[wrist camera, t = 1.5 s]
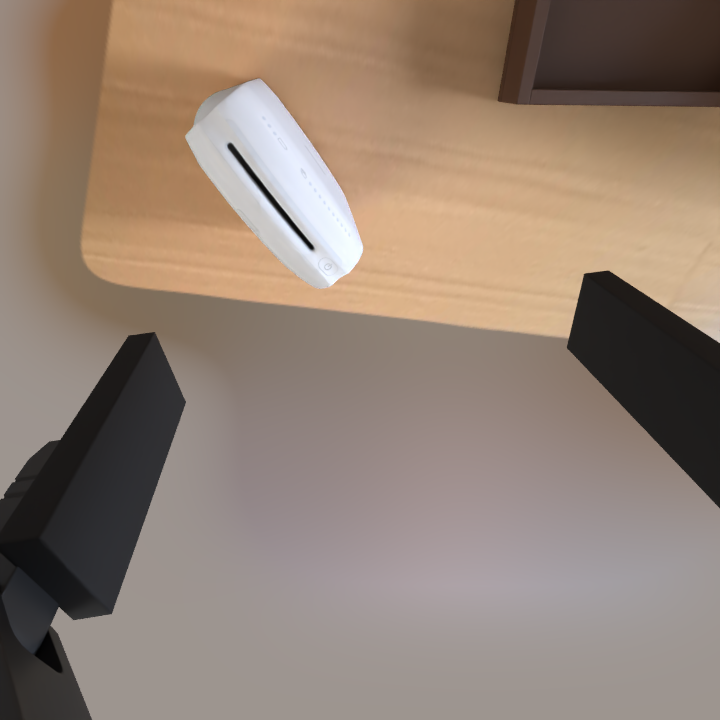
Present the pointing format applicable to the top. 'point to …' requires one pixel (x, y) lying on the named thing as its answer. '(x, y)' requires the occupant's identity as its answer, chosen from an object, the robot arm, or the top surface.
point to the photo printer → (276, 181)
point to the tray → (613, 53)
